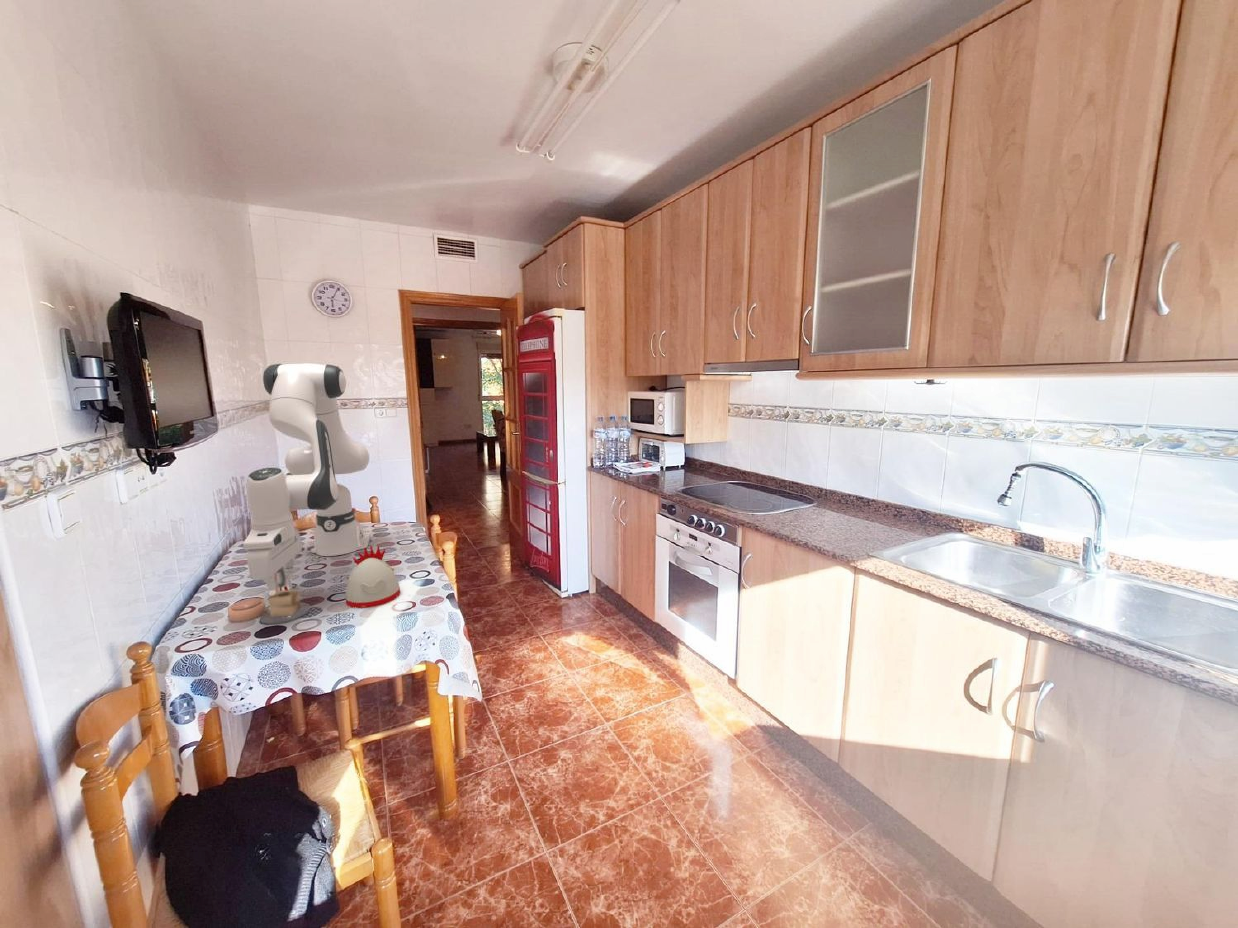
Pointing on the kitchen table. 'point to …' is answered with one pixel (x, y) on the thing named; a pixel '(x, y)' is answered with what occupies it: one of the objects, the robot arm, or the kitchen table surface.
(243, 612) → the ramekin
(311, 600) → the kitchen table surface
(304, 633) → the kitchen table surface
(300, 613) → the coaster
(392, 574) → the kitchen timer
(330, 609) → the kitchen table surface
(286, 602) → the oak block
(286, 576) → the beer glass
